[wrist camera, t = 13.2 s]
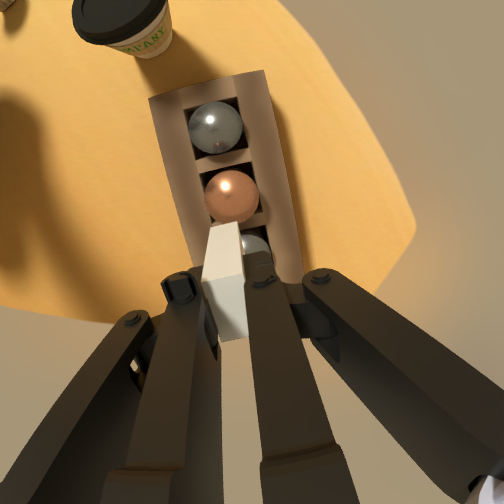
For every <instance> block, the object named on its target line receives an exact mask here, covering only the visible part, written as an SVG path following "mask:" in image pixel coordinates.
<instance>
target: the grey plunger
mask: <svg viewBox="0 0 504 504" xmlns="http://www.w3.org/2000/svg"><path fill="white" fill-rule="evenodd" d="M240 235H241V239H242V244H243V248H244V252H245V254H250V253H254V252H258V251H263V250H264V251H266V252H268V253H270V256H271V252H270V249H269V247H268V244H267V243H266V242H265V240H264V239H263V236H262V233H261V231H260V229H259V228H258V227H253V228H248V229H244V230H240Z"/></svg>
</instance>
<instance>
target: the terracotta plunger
mask: <svg viewBox="0 0 504 504" xmlns="http://www.w3.org/2000/svg"><path fill="white" fill-rule="evenodd" d="M258 202H259V193H258V189H257V187H256V184H255V183H254V181H253V180H252V179H251V178H250V177H249V176H248V175H247V174H246V173H245V172H243V171H242V170H240V169H237V168H226V169H223V170H221V171H219V172H218V173H217V174H216V175H215V176H214V177H213V178H212V179H211V180H210V181H209V183H208V185H207V187H206V189H205V193H204V203H205V207H206V209H207V211H208V213H209V214H210V215H211V216H212V217H213V218H214V219H215V220H217V221H219V222H221V223H224V224H227V223H231V222H235V221H237V223H238V224H239V223H242V222H244V221H246V220H247V219H249V218H250V217H251V216H252V215H253V214H254V212H255V210H256V209H257V206H258Z"/></svg>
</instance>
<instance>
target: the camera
mask: <svg viewBox="0 0 504 504" xmlns="http://www.w3.org/2000/svg"><path fill="white" fill-rule="evenodd" d="M13 2H15V0H0V12H3V11H4V10H5V9H6V8H7V7H9V6H10V5H11V4H12V3H13Z"/></svg>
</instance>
